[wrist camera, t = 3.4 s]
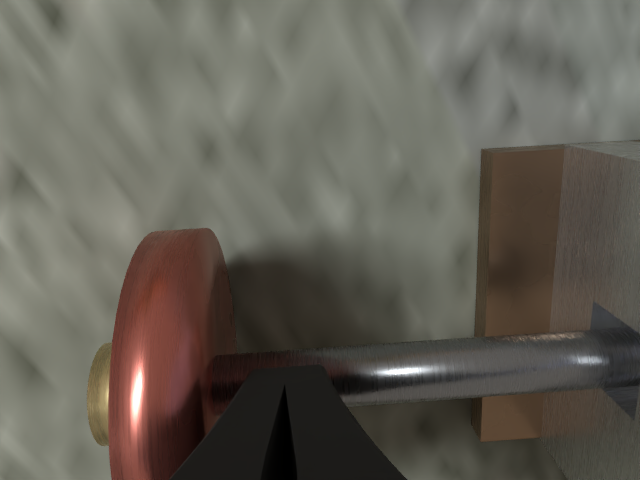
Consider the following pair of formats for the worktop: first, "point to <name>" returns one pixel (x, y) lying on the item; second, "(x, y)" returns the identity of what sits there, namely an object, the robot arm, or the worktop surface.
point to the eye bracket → (562, 290)
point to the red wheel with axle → (291, 360)
